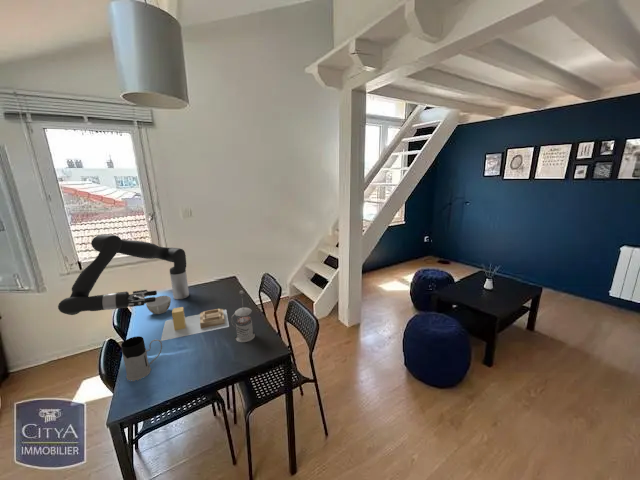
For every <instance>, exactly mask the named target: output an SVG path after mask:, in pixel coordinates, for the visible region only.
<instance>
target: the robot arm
mask: <svg viewBox="0 0 640 480" xmlns="http://www.w3.org/2000/svg"><path fill="white" fill-rule="evenodd" d="M90 244H91V247H92V248H93V250H95V251H96V252H98V254H97V256H96V257H95V258H94V260H93V261H91V263H90V264H89V265H87V267H85V268H84V269H83V270H82V271H81V273H79V275H78V277H77V278H76V280H75V281H74V283H73V285H72V287H71V294H70V296H69V297H65V298H64V299H62V300H61V301H60V302H59V303H58V305H57V309H58V310H59V312H60V313H62V314H64V315H65V314H66V315H69V316H75V315H78V314H80V313H81V312H98V311H107V310H111V311H112V310H117V309H125V308H129V307H130V308H132V307H134V308H135V307H141V306H145V305H146V303H148V302H155V296H157V295H158V292H157V290H149V291H148V289H141V290H133V291H132V294H129V291H120V292H119V291H118V292H112V293H111V292H110V293H106V294H100V295H99V294H98V295H93V296H90V293H91V291H92V289H93V288H94V286H95V284H96V283H97V281H98V279H99V278H100V276H101V274H102V273H103V272H104V270H105V269H106V267H108V265H109V264H110V262H111V261H112V260H113V258H114V257H115V256H116V255H117V254H120V255H121V254H122V255H126V256H129V257H130V256H131V257H135V258H140V259H146V260H147V259H148V260H149V259H151V260H153V259H159V260H162V261H163V260H164V261H167V262H169V263H173V266H172V267H170V269H169V276H170V282H171V290H172V296H173V299H174V300H183V299H186V298H189V296H190V292H189V284H188V278H187V272H186V271H187V270H186V269H187V258H186V257H187V256H186V252H185V250H184V249H183V248H178V247H166V246H164V247H163V246H159V245H157V244H154V243H152V242H148V241H142V240H141V241H140V240H133V239H131V240H129V239H122V238H120V236H118V235H115V234H106V233H102V234H98V235H96V236H95V237H93V239H92V240H91V243H90ZM151 296H152V297H151Z"/></svg>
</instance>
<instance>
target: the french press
mask: <svg viewBox="0 0 640 480" xmlns="http://www.w3.org/2000/svg"><path fill="white" fill-rule="evenodd" d="M244 292H245V291H243V290H239V294H241V295H243V294H244ZM241 300H242V301H241V304H242V306H244V302H243V299H241ZM252 311H253V310H252V309H251V308H249V307H239V308H238V309H236V310H235V312H234V313H233V314H232V315H231V317H230V319H231V320H232V321H230V323H231V325H232V327H234V328H235V330H236V336H235V337H234V338H235V340H236V341H237V342H238V343H239V342H240V343H246V342H251V341H252V340H254V338H255V337H256V334H255V332H254V329H253V328H254V327H253V320H252V317H251V316H250V314H252ZM234 316H235V317H237V318H236V320H235V321H236V322H234ZM233 323H234V324H233Z"/></svg>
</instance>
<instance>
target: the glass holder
mask: <svg viewBox="0 0 640 480" xmlns="http://www.w3.org/2000/svg"><path fill="white" fill-rule="evenodd" d="M153 342H159V343H160V350H159V353H158V354H157V356H155V358H153V359H152V360H151V361H150V362H149V358H148V353H147V352H149V351H151V348H152V347H151V344H152V343H153ZM162 343H163V342H162V341H161V339H152V340H151V341H150V342H149V346H148V347H149V349H147V348H146V346H145V345H146V344H145V340H144V337H142V336H133V337H132V336H131V337H129V338H127V339H125V340H124V341H122V342H121V345H120V346H121V353H122V357H123V358H122V359H123V363H124V368H125V372H126V377H125V378H127V379H128V380H130V381H129V382H136V381H135V380H137V381H140V380H142V379H141V378H143V377H144V378H146V377H148V376H149V375H150V373H151V372H152V368H151V365H152V364H153V363H154V361H156V360H157V359H158V357H159V356H160V355H161V353H162V349H163V344H162ZM150 371H151V372H150ZM145 376H146V377H145ZM144 378H143V379H144ZM127 379H126V380H127ZM139 379H140V380H139ZM128 380H127V381H128ZM131 380H132V381H131Z"/></svg>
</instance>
